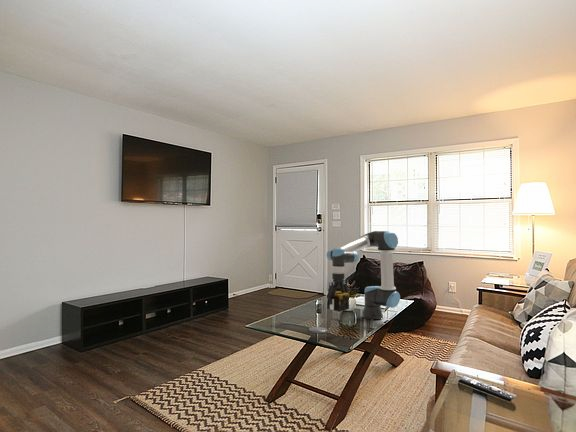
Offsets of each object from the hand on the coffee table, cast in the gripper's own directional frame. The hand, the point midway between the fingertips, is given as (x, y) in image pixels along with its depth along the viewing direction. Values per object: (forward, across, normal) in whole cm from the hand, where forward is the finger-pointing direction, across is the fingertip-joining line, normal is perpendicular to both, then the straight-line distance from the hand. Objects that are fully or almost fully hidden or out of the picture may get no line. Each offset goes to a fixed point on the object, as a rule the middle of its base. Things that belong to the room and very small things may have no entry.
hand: (338, 308), depth 214 cm
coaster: (+16, +5, -12) cm, 21 cm away
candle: (+1, 0, 0) cm, 1 cm away
